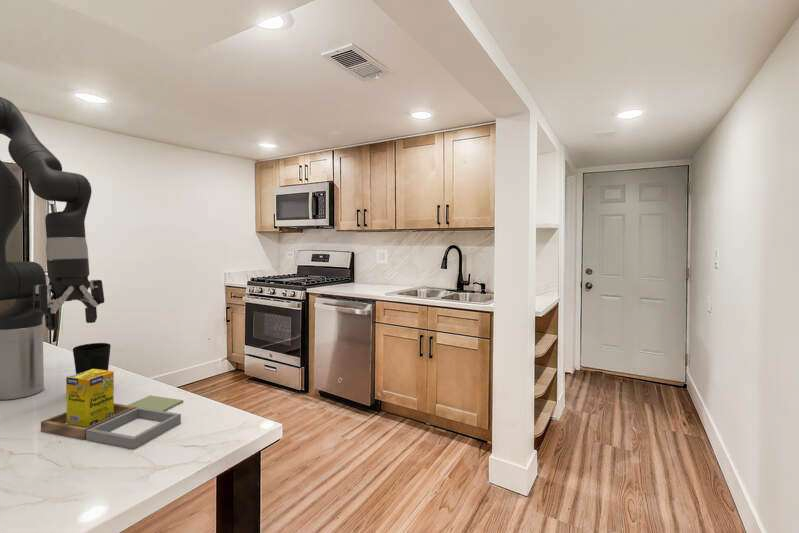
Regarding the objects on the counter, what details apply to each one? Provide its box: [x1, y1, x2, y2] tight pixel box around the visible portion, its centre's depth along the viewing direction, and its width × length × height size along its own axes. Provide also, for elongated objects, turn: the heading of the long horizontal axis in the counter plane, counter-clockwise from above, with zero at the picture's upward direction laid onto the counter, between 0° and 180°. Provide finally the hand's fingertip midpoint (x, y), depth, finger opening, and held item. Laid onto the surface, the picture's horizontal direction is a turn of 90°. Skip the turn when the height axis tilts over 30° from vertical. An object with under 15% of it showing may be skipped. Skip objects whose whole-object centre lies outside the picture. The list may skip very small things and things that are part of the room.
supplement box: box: [65, 369, 115, 428], centre depth 85 cm, size 6×6×11 cm
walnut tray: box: [40, 402, 136, 441], centre depth 85 cm, size 12×12×2 cm
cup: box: [72, 342, 112, 375], centre depth 102 cm, size 8×8×12 cm
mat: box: [127, 394, 184, 412], centre depth 95 cm, size 10×8×1 cm
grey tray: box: [85, 407, 182, 450], centre depth 83 cm, size 12×12×2 cm
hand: (72, 326), depth 93 cm, fingers open, 8 cm apart
